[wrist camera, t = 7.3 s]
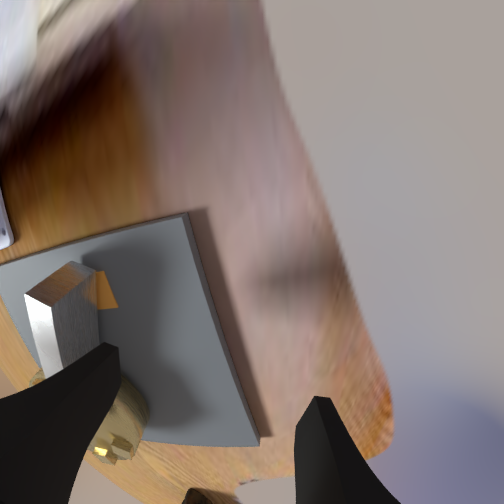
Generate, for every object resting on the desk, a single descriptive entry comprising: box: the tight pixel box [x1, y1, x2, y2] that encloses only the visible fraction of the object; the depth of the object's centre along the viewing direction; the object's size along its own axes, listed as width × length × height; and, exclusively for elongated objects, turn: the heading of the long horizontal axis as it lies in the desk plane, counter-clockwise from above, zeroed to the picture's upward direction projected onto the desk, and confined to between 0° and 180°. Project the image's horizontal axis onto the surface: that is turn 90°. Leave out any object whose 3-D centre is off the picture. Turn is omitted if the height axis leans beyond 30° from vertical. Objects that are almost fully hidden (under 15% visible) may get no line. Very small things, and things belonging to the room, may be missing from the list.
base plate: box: [0, 212, 260, 447], centre depth 16 cm, size 16×16×1 cm
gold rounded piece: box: [25, 260, 150, 465], centre depth 13 cm, size 14×8×4 cm, turn 166°
